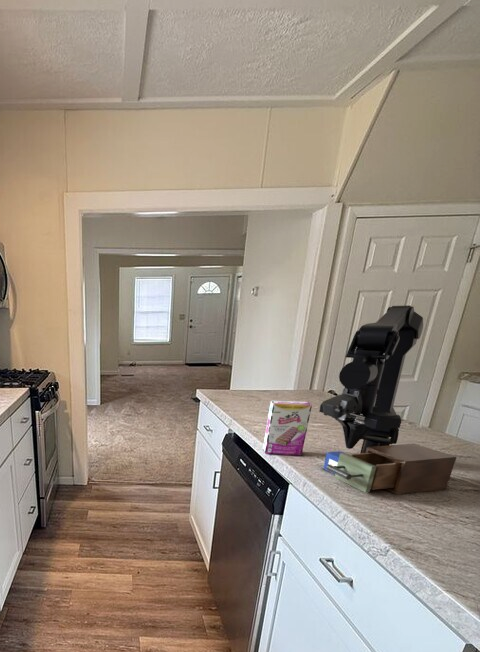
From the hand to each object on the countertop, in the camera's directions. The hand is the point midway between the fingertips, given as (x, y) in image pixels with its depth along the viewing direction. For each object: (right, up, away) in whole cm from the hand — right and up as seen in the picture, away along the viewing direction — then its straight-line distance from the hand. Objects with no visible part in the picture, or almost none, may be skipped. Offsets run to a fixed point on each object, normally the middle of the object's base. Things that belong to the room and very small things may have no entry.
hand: (349, 448), depth 98 cm
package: (+6, -6, +14) cm, 17 cm away
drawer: (+7, -9, +5) cm, 12 cm away
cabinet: (+18, -9, +7) cm, 21 cm away
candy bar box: (-2, +1, +31) cm, 31 cm away
